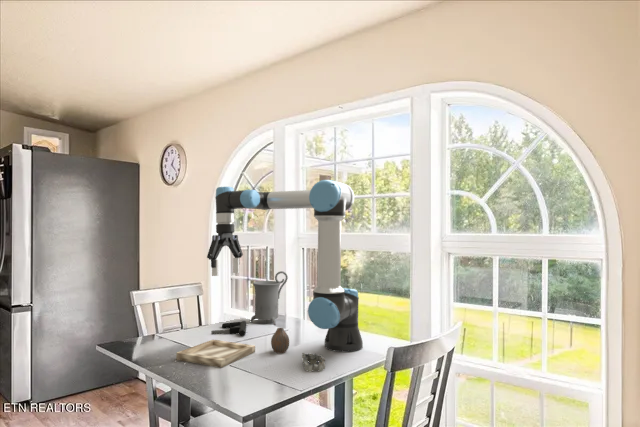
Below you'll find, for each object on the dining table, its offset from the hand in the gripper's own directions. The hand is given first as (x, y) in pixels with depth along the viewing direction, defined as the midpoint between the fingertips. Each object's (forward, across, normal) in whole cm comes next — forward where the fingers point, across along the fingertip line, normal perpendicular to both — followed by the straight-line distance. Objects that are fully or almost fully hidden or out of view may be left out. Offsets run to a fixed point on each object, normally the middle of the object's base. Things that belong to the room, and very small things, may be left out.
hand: (226, 274), depth 183 cm
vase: (+29, +3, +28) cm, 40 cm away
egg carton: (+30, +12, +47) cm, 57 cm away
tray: (+28, +18, +10) cm, 35 cm away
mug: (+27, -37, -4) cm, 46 cm away
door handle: (+27, -13, -9) cm, 32 cm away
